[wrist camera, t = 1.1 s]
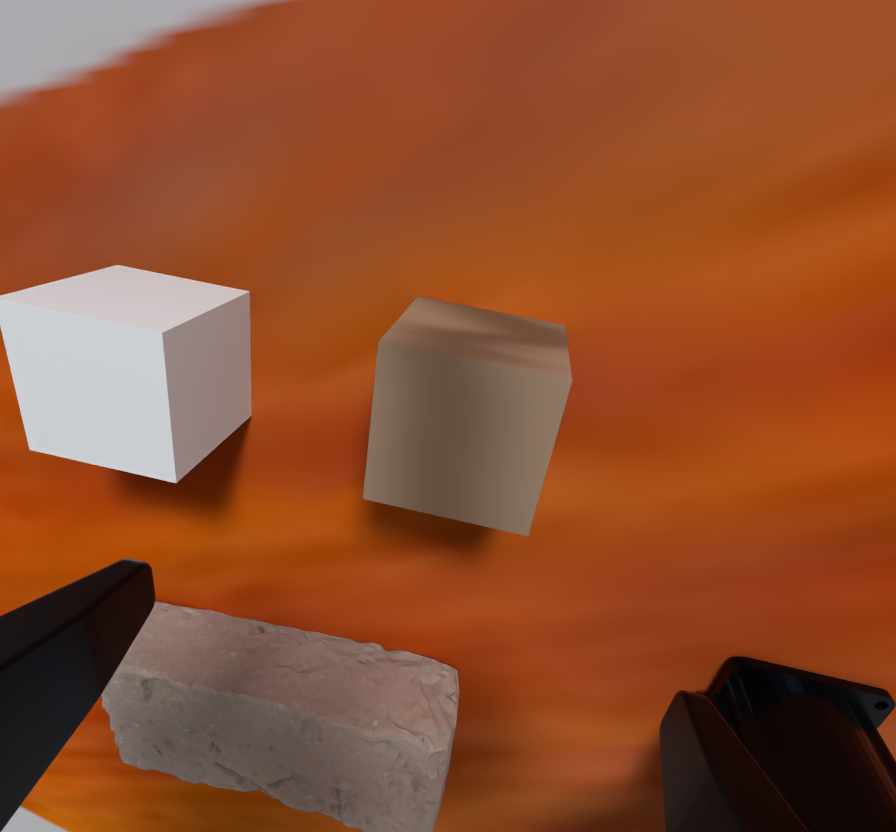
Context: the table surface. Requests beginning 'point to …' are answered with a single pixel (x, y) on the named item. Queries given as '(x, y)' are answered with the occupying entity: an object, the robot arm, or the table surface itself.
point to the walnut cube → (466, 413)
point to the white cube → (129, 368)
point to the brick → (287, 716)
